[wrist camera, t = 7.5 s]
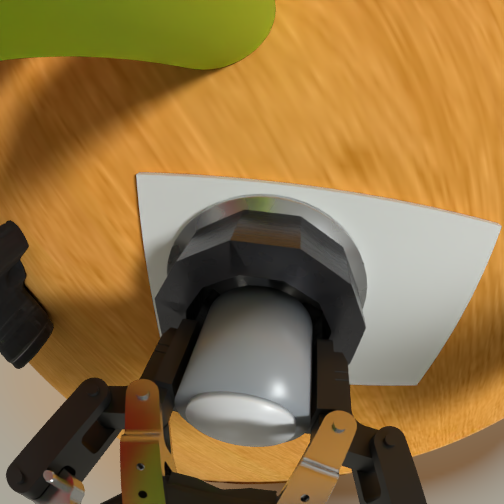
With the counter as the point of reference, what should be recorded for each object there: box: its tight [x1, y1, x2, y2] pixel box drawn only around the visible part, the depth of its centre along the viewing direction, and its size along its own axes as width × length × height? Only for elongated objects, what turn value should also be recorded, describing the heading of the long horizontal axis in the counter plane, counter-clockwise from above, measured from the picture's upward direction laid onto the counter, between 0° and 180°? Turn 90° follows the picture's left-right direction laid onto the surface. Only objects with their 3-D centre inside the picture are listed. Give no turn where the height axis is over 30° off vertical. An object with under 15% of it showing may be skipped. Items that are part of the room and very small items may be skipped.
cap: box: [175, 285, 312, 447], centre depth 11 cm, size 5×5×5 cm
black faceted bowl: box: [155, 194, 367, 365], centre depth 15 cm, size 11×11×4 cm
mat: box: [136, 172, 502, 386], centre depth 17 cm, size 20×14×1 cm
